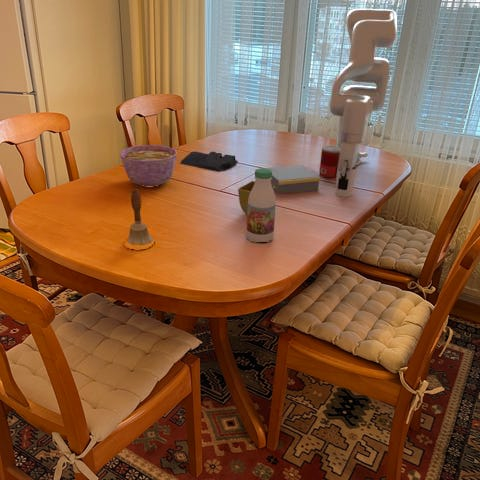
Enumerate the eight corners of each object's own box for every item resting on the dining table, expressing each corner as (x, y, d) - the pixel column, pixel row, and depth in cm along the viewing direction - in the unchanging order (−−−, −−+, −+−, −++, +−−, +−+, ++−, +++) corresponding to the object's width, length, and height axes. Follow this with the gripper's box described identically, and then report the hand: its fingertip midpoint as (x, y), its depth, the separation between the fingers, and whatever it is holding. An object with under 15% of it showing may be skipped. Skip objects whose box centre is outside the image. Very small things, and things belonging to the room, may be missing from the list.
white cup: (355, 193, 164) (359, 166, 159) (349, 198, 159) (353, 171, 154) (338, 189, 167) (341, 162, 163) (331, 194, 162) (334, 167, 158)
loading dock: (300, 177, 178) (301, 164, 175) (318, 190, 165) (320, 177, 163) (262, 180, 172) (263, 168, 170) (278, 194, 160) (279, 181, 158)
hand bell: (153, 250, 121) (150, 194, 114) (121, 250, 121) (116, 194, 113) (156, 236, 129) (153, 183, 121) (126, 236, 128) (121, 183, 121)
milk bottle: (245, 231, 133) (247, 165, 124) (271, 231, 134) (275, 166, 125) (247, 244, 126) (250, 175, 117) (275, 243, 127) (280, 175, 118)
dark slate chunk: (197, 155, 201) (197, 144, 198) (241, 163, 192) (241, 152, 190) (177, 164, 188) (176, 153, 186) (223, 173, 180) (223, 162, 178)
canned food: (339, 179, 176) (343, 151, 171) (318, 177, 178) (321, 150, 173) (339, 173, 183) (343, 146, 178) (319, 171, 184) (322, 144, 179)
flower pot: (260, 222, 139) (262, 194, 135) (236, 215, 143) (237, 188, 139) (274, 212, 146) (276, 186, 142) (250, 206, 150) (252, 180, 146)
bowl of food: (189, 184, 167) (188, 153, 162) (144, 197, 154) (142, 164, 148) (155, 171, 179) (154, 141, 174) (111, 182, 166) (108, 151, 160)
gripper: (344, 130, 162) (338, 176, 170) (335, 141, 148) (329, 191, 156) (366, 132, 160) (358, 179, 168) (359, 144, 145) (351, 194, 153)
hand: (344, 185), depth 162 cm, fingers open, 9 cm apart
